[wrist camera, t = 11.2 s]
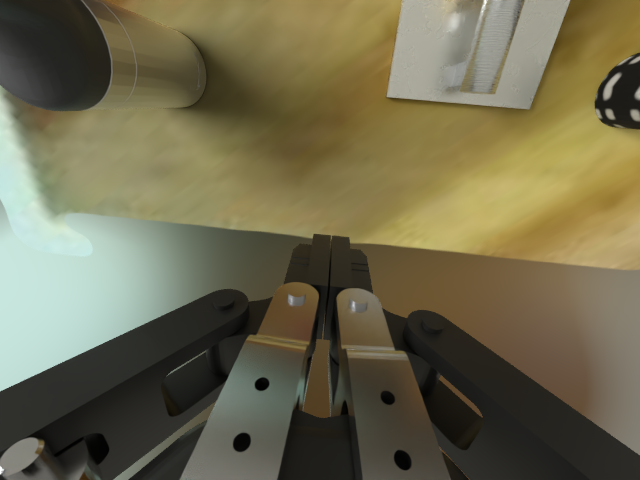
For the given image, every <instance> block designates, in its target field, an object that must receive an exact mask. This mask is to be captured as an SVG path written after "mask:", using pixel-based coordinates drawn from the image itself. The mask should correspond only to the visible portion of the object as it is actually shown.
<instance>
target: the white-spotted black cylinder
mask: <svg viewBox="0 0 640 480" xmlns="http://www.w3.org/2000/svg"><path fill="white" fill-rule="evenodd" d="M595 110H596V114H597V116H598V118H599V119H600V120H601V121H602V122H603V123H604V124H606V125H608V126H612V127H620V128H631V129H640V53H638V54H635V55H632V56H630V57H629V58H627V59H625V60H623V61H622V62H621V63H619V64H618V65H617V66H615V67H614V68H613V69H612V70H611V71H610V72H609V74H608V75H607V76H606V77H605V79H604V80H603V82H602V83H601V85H600V87H599V89H598V92H597V94H596V99H595Z"/></svg>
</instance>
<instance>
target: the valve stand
mask: <svg viewBox="0 0 640 480" xmlns="http://www.w3.org/2000/svg"><path fill="white" fill-rule="evenodd" d="M569 3H570V0H402V1H401V7H400V13H399V19H398V25H397V32H396V38H395V44H394V50H393V56H392V62H391V68H390V74H389V80H388V86H387V93H386V97H391V98H402V99H414V100H425V101H437V102H448V103H460V104H471V105H483V106H494V107H506V108H517V109H530V107H531V104H532V101H533V99H534V96H535V93H536V91H537V88H538V85H539V83H540V80H541V77H542V75H543V72H544V69H545V67H546V64H547V61H548V59H549V56H550V53H551V51H552V48H553V45H554V43H555V40H556V37H557V35H558V32H559V29H560V27H561V24H562V21H563V19H564V16H565V13H566V11H567V8H568V5H569Z"/></svg>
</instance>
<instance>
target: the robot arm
mask: <svg viewBox="0 0 640 480" xmlns="http://www.w3.org/2000/svg"><path fill="white" fill-rule="evenodd" d="M0 85H1V86H2V87H3V88H5V89H6V90H7V91H8V92H10V93H11V94H12V95H14V96H15V97H17V98H19V99H20V100H22V101H24V102H26V103H28V104H30V105H33V106H36V107H39V108H42V109H46V110H52V111H81V110H109V109H144V108H182V107H188V106H190V105H193V104H194V103H195V102H197V101H198V100H199V99H200V97H201V96H202V94H203V92H204V90H205V86H206V68H205V64H204V61H203V58H202V56H201V54H200V52H199V50H198V48H197V47H196V46H195V45H194V43H193V42H192V41H191V40H190V39H189V38H188V37H186V36H185V35H183V34H182V33H180V32H178V31H176V30H174V29H171V28H169V27H166V26H164V25H162V24H160V23H157V22H155V21H152V20H150V19H148V18H145V17H143V16H140V15H138V14H136V13H133V12H131V11H128V10H126V9H124V8H121V7H119V6H116V5H114V4H112V3H109V2H107V1H104V0H0ZM330 240H331V235H321V234H314V235H313V241H312V245H307V244H299V245H298V246H297V247H296V248H295V249H294V250H293V253H292V257H291V260H290V264H289V267H288V271H287V274H286V277H285V281H284V284H283V285H282V286H280V287H279V288H278V289H277V290H276V292H275V294H274V296H273V297H271V298H268V299H265V300H260V301H251V302H248V298H247V296H246V295H245V294H244V293H242V292H240V291H238V290H233V289H224V290H218V291H215V292H212V293H210V294H208V295H206V296H204V297H201V298H199V299H197V300H195V301H193V302H191V303H189V304H187V305H185V306H182V307H180V308H178V309H176V310H174V311H171V312H169V313H167V314H165V315H163V316H161V317H159V318H157V319H154V320H152V321H150V322H148V323H146V324H144V325H142V326H140V327H137V328H135V329H133V330H131V331H129V332H127V333H124V334H123V335H120V336H118V337H116V338H114V339H112V340H109V341H107V342H105V343H103V344H101V345H99V346H97V347H95V348H93V349H90V350H88V351H86V352H84V353H82V354H80V355H78V356H75V357H73V358H71V359H69V360H67V361H65V362H62V363H60V364H58V365H56V366H54V367H52V368H50V369H47V370H45V371H43V372H41V373H39V374H37V375H35V376H33V377H30V378H28V379H26V380H24V381H22V382H20V383H18V384H15V385H13V386H11V387H9V388H7V389H5V390H3V391H1V392H0V480H113V479H114V478H116V477H117V476H118V475H119V474H121V473H122V472H123V471H125V470H126V469H127V468H129V467H130V466H131V465H133V464H134V463H135V462H136V461H138V460H139V459H140V458H142V457H143V456H144V455H145V454H147V453H148V452H149V451H151V450H152V449H154V448H155V447H156V446H157V445H159V444H160V443H161V442H163V441H164V440H165V439H167V438H168V437H169V436H171V435H172V434H173V433H174V432H176V431H177V430H178V429H180V428H181V427H182V426H184V425H185V424H186V423H187V422H189V421H190V420H191V419H193V418H194V417H195V416H197V415H198V414H199V413H201V412H202V411H203V410H204V409H206V408H207V407H208V406H210V405H211V404H212V403H214V402H215V401H216V400H217V402H216V404H215V406H214V408H213V410H212V412H211V415H210V417H209V419H208V420H206V421H204V422H202V423H201V424H199V425H197V426H195V427H194V428H192V429H191V430H189V431H188V432H186V433H185V434H184V435H182V436H181V437H180V438H178V439H177V440H176V441H175V442H174V443H172V444H171V445H170V446H169V447H168V448H166V449H165V450H164V451H163V452H161V453H160V454H159V455H158V456H157V457H155V459H153V460H152V461H151V462H149V463H148V464H147V465H146V466H145V467H143V468H142V469H141V470H140V471H139V472H137V473H136V474H135V475H134V476H132V477H131V478H130V479H129V480H469V479H470V480H640V455H638V454H637V453H635V452H634V451H632V450H631V449H630V448H628V447H627V446H626V445H624V444H623V443H621V442H620V441H618V440H617V439H616V438H614V437H613V436H611V435H610V434H609V433H607V432H606V431H604V430H603V429H602V428H600V427H599V426H597V425H596V424H594V423H593V422H592V421H590V420H589V419H587V418H586V417H585V416H583V415H582V414H580V413H579V412H578V411H576V410H575V409H573V408H572V407H570V406H569V405H567V404H566V403H565V402H563V401H562V400H561V399H559V398H558V397H556V396H555V395H554V394H552V393H551V392H549V391H548V390H546V389H545V388H543V387H542V386H541V385H539V384H538V383H537V382H535V381H534V380H532V379H531V378H529V377H528V376H527V375H525V374H524V373H522V372H521V371H520V370H518V369H517V368H515V367H514V366H513V365H511V364H510V363H508V362H507V361H505V360H504V359H503V358H501V357H500V356H498V355H497V354H496V353H494V352H493V351H491V350H490V349H488V348H487V347H486V346H484V345H483V344H481V343H480V342H478V341H477V340H476V339H474V338H473V337H472V336H470V335H469V334H467V333H466V332H464V331H463V330H461V329H460V328H459V327H457V326H456V325H454V324H453V323H452V322H450V321H449V320H447V319H446V318H445V317H443V316H441V315H439V314H437V313H435V312H431V311H427V310H417V311H414V312H412V313H410V315H409V316H408V318H404V317H401V316H398V315H395V314H392V313H390V312H388V311H386V310H385V309H383V308H382V307H381V304H380V301H379V299H378V298H377V297H376V296H375V295H374V294H373V290H372V285H371V279H370V273H369V267H368V262H367V257H366V256H365V254H364V253H363V252H362V251H361V250H357V249H350V241H349V237H341V236H332V240H331V248H330ZM324 315H325V322H324ZM323 323H324V338H323V339H325V340H330V348H329V355H328V373H329V394H330V417H328V418H319V417H316V416H313V415H310V414H308V413H305V412H303V406H304V400H305V395H306V390H307V385H308V379H309V374H310V369H311V363H312V357H313V353H314V351H315V347H316V339H322V331H323ZM205 350H206V352H205V353H204V354H202V355H201V356H199V357H197V358H196V359H194V360H192V361H191V362H189V363H187V364H186V365H184V366H183V367H181V368H180V369H178V370H176V371H174V372H173V373H171V374H169V373H170V372H171V371H173V370H174V369H176V368H177V367H179V366H181V365H182V364H184V363H186V362H187V361H189V360H190V359H192V358H194V357H195V356H197V355H199V354H200V353H202V352H204V351H205ZM168 374H169V375H168ZM167 375H168V376H167ZM440 375H442V376H443V377H444V378H445V379H446V380H448V381H449V382H450V383H451V384H452V385H453V386H454V387H455V388H457V389H458V390H459V391H460V392H461V393H462V394H463V395H465V396H466V397H467V398H468V399H469V400H470V401H471V402H473V403H474V404H475V405H476V406H477V408H478V409H479V410H480V412H481V414H482V416H483V418H482V417H480V416H479V415H478V414H477V413H476V412H474V411H473V410H472V409H471V408H470V407H469V406H468V405H467V404H466V403H465V402H463V401H462V400H461V399H460V398H459V397H458V396H457V395H455V393H453V392H452V391H451V390H450V389H449V388H448V387H447V386H446V385H444V384H443V383H442V382H441V381H440V380H439V378H440ZM439 446H440V447H441V448H442V450H443V451H444V452H445V453H446V454H447V455H448V456H449V457H450V458H451V459H452V460H453V461H454V462H453V461H451V460H450V459H449V458H448V457H447V456H446V455H445V454H444V453H443V452H442V451H441V450H440V447H439ZM455 464H456V465H457V466H458V467H459V468H460V469H461V470H462V471H463V472H464V473H465V475H466V476H467V477H468V478H469V479H468V478H467V477H466V476H465V475H464V474H463V472H462V471H461V470H460V469H459V468H458V467H457V466H456V465H455Z"/></svg>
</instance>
